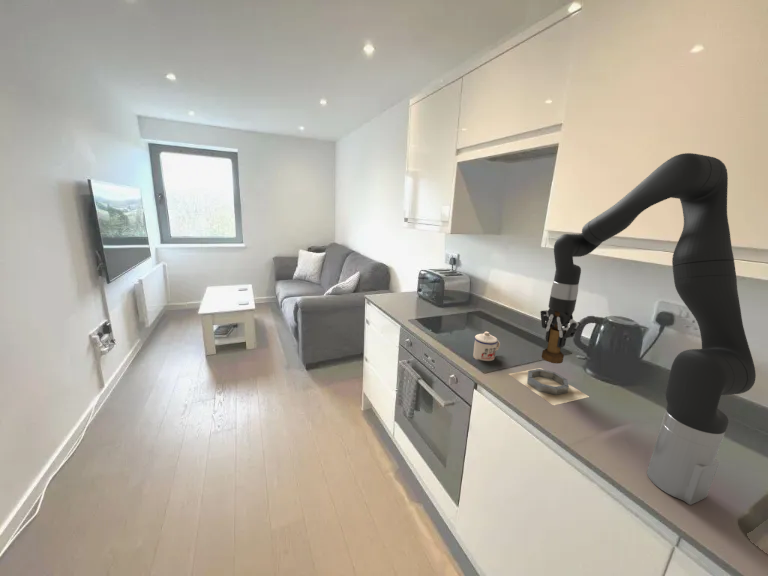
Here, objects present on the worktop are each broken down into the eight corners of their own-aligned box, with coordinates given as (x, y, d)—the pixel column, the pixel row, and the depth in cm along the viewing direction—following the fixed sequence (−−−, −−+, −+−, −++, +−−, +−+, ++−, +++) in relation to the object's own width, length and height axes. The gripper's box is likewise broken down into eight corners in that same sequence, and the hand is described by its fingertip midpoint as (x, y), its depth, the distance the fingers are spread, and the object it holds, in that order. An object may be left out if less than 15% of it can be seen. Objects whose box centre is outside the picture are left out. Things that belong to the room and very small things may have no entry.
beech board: (588, 399, 102) (589, 396, 102) (552, 408, 96) (553, 405, 96) (540, 370, 120) (540, 367, 120) (507, 376, 114) (508, 373, 114)
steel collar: (575, 391, 104) (576, 384, 104) (547, 397, 100) (549, 390, 99) (545, 373, 116) (546, 367, 115) (519, 378, 111) (520, 372, 111)
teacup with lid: (481, 364, 123) (485, 337, 120) (468, 354, 131) (470, 329, 128) (505, 360, 127) (509, 334, 124) (490, 351, 135) (494, 326, 132)
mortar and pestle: (561, 365, 101) (570, 313, 97) (539, 359, 105) (547, 309, 100) (564, 358, 106) (572, 309, 102) (543, 353, 110) (551, 305, 106)
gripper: (592, 301, 95) (581, 352, 99) (553, 289, 108) (545, 335, 112) (574, 302, 92) (564, 354, 96) (537, 291, 105) (529, 337, 109)
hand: (554, 344), depth 104 cm, fingers closed on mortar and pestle, 4 cm apart
